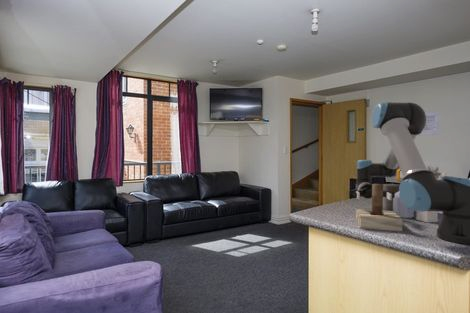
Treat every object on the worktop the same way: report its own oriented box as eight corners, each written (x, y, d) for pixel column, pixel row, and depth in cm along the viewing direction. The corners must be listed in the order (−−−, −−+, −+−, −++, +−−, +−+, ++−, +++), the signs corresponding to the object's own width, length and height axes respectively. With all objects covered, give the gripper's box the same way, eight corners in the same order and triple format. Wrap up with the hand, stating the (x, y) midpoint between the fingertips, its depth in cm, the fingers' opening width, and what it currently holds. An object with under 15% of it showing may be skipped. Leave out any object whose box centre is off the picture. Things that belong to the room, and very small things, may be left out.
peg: (384, 226, 133) (385, 185, 133) (374, 226, 133) (375, 185, 132) (378, 223, 137) (379, 183, 137) (369, 223, 137) (370, 183, 136)
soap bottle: (416, 218, 148) (417, 168, 147) (395, 217, 149) (396, 167, 149) (409, 214, 156) (410, 166, 156) (390, 213, 158) (391, 166, 157)
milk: (437, 222, 141) (439, 174, 141) (427, 222, 140) (428, 174, 139) (425, 218, 147) (427, 173, 146) (415, 219, 145) (417, 173, 145)
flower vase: (448, 215, 154) (449, 166, 153) (406, 212, 162) (407, 165, 161) (443, 211, 165) (445, 165, 165) (405, 208, 173) (406, 164, 173)
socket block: (355, 219, 144) (355, 209, 144) (392, 222, 140) (392, 211, 140) (360, 228, 129) (360, 216, 129) (402, 231, 125) (402, 219, 125)
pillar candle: (404, 209, 170) (404, 182, 170) (397, 211, 163) (398, 183, 163) (386, 207, 177) (386, 181, 177) (379, 209, 170) (379, 182, 170)
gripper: (392, 198, 157) (404, 206, 137) (341, 196, 163) (345, 203, 143) (392, 184, 157) (405, 189, 136) (341, 182, 163) (346, 187, 143)
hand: (374, 196), depth 140 cm, fingers open, 13 cm apart
